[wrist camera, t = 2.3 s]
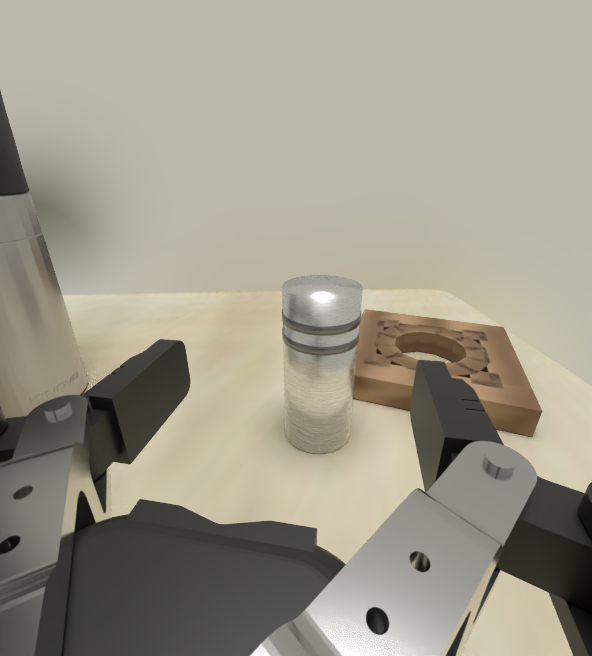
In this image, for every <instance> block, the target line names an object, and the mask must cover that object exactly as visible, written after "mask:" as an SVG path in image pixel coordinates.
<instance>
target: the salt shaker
mask: <svg viewBox="0 0 592 656" xmlns="http://www.w3.org/2000/svg"><path fill="white" fill-rule="evenodd" d="M362 289H363V288H362V286H361V284H359V283H358V282H356V281H354V280H351V279H347V278H344V277H338V276H329V275H310V276H302V277H297V278H293V279H290V280H288V281H287V282H285V283H284V284H283V286H282V295H283V309H282V321H283V329H282V335H283V350H284V405H285V434H286V437H287V439H288V440H289V442H290V443H291V444H292V445H293V446H295V447H296V448H298V449H300V450H302V451H305V452H308V453H313V454H326V453H330V452H334V451H336V450H338V449H340V448H341V447H343V446H344V445H345V444H346V443H347V441H348V439H349V436H350V427H351V415H352V404H353V392H354V381H355V369H356V358H357V347H358V342H359V324H360V321H361V301H362Z"/></svg>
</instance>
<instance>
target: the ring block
mask: <svg viewBox="0 0 592 656" xmlns="http://www.w3.org/2000/svg"><path fill="white" fill-rule="evenodd" d="M415 351H419V352H425V353H431V354H436V355H438V356H441V357H443V358H446V359H448V360H450V361H451V362H453V363H447V364H446V367H447V369H448V371H449V373H450V376H451V378H457V379H463V380H464V381H465V382H466V383H467V384H469V385H470V386H471V387H472V388H473V389H474V390H475V392H476V393H477V395H478V397H479V399H480V403H482V405H483V407H484V409H485V413H487V414H488V416H489V418H490V420H491V422H492V424H493V425H494V427H495V429H498V430H502V431H507V432H512V433H516V434H521V435H526V436H530V437H532V436H533V434H534V431H535V429H536V426H537V424H538V421H539V418H540V416H541V413H542V410H541V407H540V405H539V403H538V401H537V399H536V397H535V394H534V392H533V390H532V388H531V386H530V383H529V381H528V379H527V377H526V375H525V373H524V370H523V368H522V366H521V364H520V362H519V360H518V357H517V355H516V353H515V351H514V349H513V346H512V344H511V342H510V340H509V338H508V336H507V333H506V331H505V329H504V327H498V326H490V325H482V324H475V323H467V322H459V321H451V320H444V319H436V318H428V317H420V316H413V315H405V314H397V313H389V312H381V311H374V310H366V309H365V310H364V312H363V314H362V316H361V321H360V324H359V342H358V347H357V358H356V369H355V381H354V392H353V398H354V399H358V400H363V401H368V402H372V403H377V404H381V405H386V406H391V407H395V408H400V409H405V410H409V411H410V405H411V397H412V391H413V384H414V378H415V372H416V366H417V362H418V360H416V359H414V358H412V357H409V356H407V355H405V354H403V353H404V352H415Z"/></svg>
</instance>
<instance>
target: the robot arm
mask: <svg viewBox="0 0 592 656" xmlns="http://www.w3.org/2000/svg"><path fill="white" fill-rule="evenodd" d="M28 191H29V188H28V185H27V182H26V179H25V176H24V172H23V169H22V165H21V162H20V158H19V154H18V151H17V147H16V144H15V140H14V137H13V134H12V130H11V127H10V124H9V120H8V117H7V114H6V110H5V106H4V103H3V99H2V95H1V92H0V656H461V654H462V652H463V649H464V647H465V645H466V643H467V640H468V638H469V636H470V634H471V632H472V630H473V628H474V626H475V624H476V622H477V620H478V618H479V616H480V614H481V612H482V610H483V608H484V606H485V604H486V602H487V600H488V598H489V596H490V594H491V592H492V590H493V588H494V586H495V584H496V582H497V580H498V577H499V575H500V573H501V571H504V572H506V573H508V574H510V575H512V576H515V577H517V578H519V579H521V580H523V581H525V582H527V583H530V584H532V585H534V586H536V587H538V588H540V589H542V590H545V591H547V592H549V595H550V597H551V600H552V602H553V605H554V607H555V610H556V612H557V615H558V618H559V620H560V623H561V625H562V628H563V630H564V633H565V635H566V638H567V640H568V643H569V646H570V648H571V651H572V653H573V656H592V482H591V483H590V484H589V486H588V488H587V490H586V492H585V493H582V492H579V491H576V490H573V489H570V488H567V487H564V486H562V485H559V484H556V483H553V482H550V481H547V480H545V479H542V478H540V477H538V476H537V474H536V471H535V469H534V467H533V466H532V465H531V463H530V462H529V461H528V460H527V459H526V458H525V457H523V456H522V455H521V454H519V453H518V452H516V451H515V450H513V449H511V448H509V447H507V446H504V444H503V442H502V441H501V439H500V437H499V435H498V433H497V431H496V429H495V427H494V425H493V424H492V422H491V420H490V418H489V416H488V414H487V413H485V409H484V407H483V405H482V403H480V399H479V397H478V395H477V393H476V392H475V390H474V389H473V388H472V387H471V386H470V385H469V384H467V383H466V382H465V381H464V380H463V379H457V378H451V376H450V373H449V371H448V369H447V367H446V364H445V363H444V362H442V361H429V360H418V362H417V366H416V372H415V378H414V384H413V391H412V397H411V405H410V417H411V423H412V428H413V433H414V438H415V443H416V448H417V453H418V458H419V463H420V468H421V473H422V478H423V483H424V488H425V492H424V491H423V490H421V489H419V488H418V489H415V490H414V491H413V492H411V493H410V494H409V495H408V497H407V498H406V499H405V500H404V501H403V502H402V503H401V504H400V505H399V507H398V508H397V509H396V510H395V511H394V512H393V513H392V514H391V515H390V516H389V518H388V519H387V520H386V521H385V522H384V523H383V524H382V525H381V526H380V528H379V529H378V530H377V531H376V532H375V533H374V534H373V535H372V536H371V537H370V539H369V540H368V541H367V542H366V543H365V544H364V545H363V546H362V547H361V549H360V550H359V551H358V552H357V553H356V554H355V555H354V556H353V557H352V559H351V560H350V561H349V562H348V563H347V564H345V563H344V562H342V561H341V560H340V559H339V558H338V557H336V556H335V555H333V554H331V553H330V552H328V551H327V550H325V549H323V548H321V547H319V546H317V528H311V527H305V526H299V525H293V524H287V523H281V522H275V521H261V522H249V523H237V524H217V523H214V522H212V521H210V520H208V519H206V518H204V517H202V516H200V515H198V514H196V513H194V512H192V511H190V510H188V509H186V508H184V507H182V506H179V505H173V504H167V503H161V502H155V501H149V500H143V499H140V500H139V501H138V502H137V504H136V505H135V507H134V508H133V510H132V511H131V512H130V514H128V515H122V516H117V517H112V518H111V474H110V470H109V466H110V465H111V464H112V463H113V462H118V463H125V464H131V463H132V462H133V461H134V459H135V458H136V457H137V456H138V454H139V453H140V452H141V451H142V449H143V448H144V447H145V446H146V445H147V443H148V442H149V441H150V440H151V438H152V437H153V436H154V435H155V433H156V432H157V431H158V430H159V429H160V427H161V426H162V425H163V424H164V422H165V421H166V420H167V419H168V417H169V416H170V415H171V414H172V413H173V411H174V410H175V409H176V408H177V406H178V405H179V404H180V403H181V402H182V400H183V399H184V398H185V397H186V395H187V393H188V391H189V388H190V374H189V368H188V362H187V356H186V349H185V345H184V343H183V342H182V341H177V340H164V339H160V340H158V341H157V342H155V343H154V344H153V345H152V346H150V347H149V348H148V349H147V350H145V351H144V352H142V353H140V354H138V355H136V356H134V357H131V358H130V359H128V360H127V361H126V362H125V363H123V364H122V365H121V366H120V368H117V369H115V370H114V371H113V372H112V373H111V375H110V374H109V375H108V376H106V377H105V378H104V379H103V380H101V381H100V382H99V383H97V384H96V385H95V386H93V387H92V388H91V389H90V390H88V391H87V392H86V393H84V394H83V395H82V396H80V394H81V393H82V392H83V391H84V389H85V388H86V386H87V383H88V379H87V375H86V371H85V368H84V365H83V362H82V359H81V355H80V352H79V349H78V346H77V342H76V338H75V335H74V332H73V329H72V326H71V322H70V319H69V316H68V313H67V310H66V306H65V303H64V300H63V297H62V293H61V290H60V287H59V284H58V281H57V277H56V274H55V271H54V268H53V265H52V261H51V258H50V255H49V252H48V248H47V245H46V242H45V239H44V235H43V233H42V230H41V226H40V223H39V220H38V217H37V214H36V210H35V207H34V204H33V201H32V198H31V194H30V193H28Z"/></svg>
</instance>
